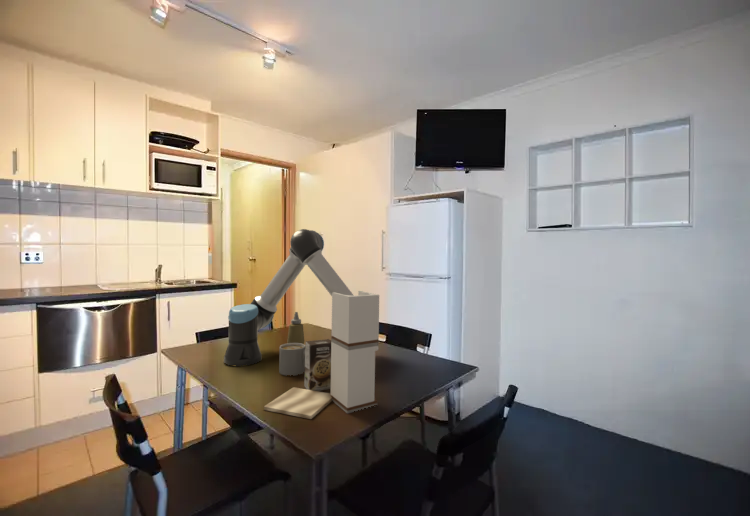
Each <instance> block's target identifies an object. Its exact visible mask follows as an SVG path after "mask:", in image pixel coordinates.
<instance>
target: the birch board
mask: <svg viewBox="0 0 750 516" xmlns="http://www.w3.org/2000/svg"><path fill="white" fill-rule="evenodd" d="M331 402H333V401H332V397H331V392H323V391H313V390H307V389H306V388H301V387H300V388H299V387H292V388H290V389H289V390H287V391H285V392H284V393H282V394H281V395H279V396H278V397H276V398H274V399H273V400H272V401H270V402H268V403H267V404H265V405H264V406H263V410H264V411H268V412H272V413H280V414H283V415H288V416H293V417H297V418H302V419H303V418H304V419H308V420H312V419H313V418H314V417H316V415H318V414H319V413H320V412H321V411H322V410H324V409H325V407H327V406H328V405H329V404H330V403H331Z"/></svg>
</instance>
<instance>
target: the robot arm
mask: <svg viewBox="0 0 750 516" xmlns="http://www.w3.org/2000/svg"><path fill="white" fill-rule="evenodd" d="M324 247H325V241H324V238H323V236H322V235H321V234H320V233H319V232H317V231H316V230H310V229H306V228H302V229H299V230H296V231H295V232H293V234H292V235H291V237H290V247H289V249H288V251H289V255H288V256H287V258H286V259H285V261H284V262H283V263H282V265H281V266H280V268H279V269H278V270H277V272H276V273H275V274H274V276H273V277H272V279H271V280H270V282H269V283H268V285H267V286H266V287H265V289H264V290H263V291H262V292H261V294H260V295H256V296H255V297H254V299H253V300H252V301H251V302H250V303H246V304H244V303H243V304H238V305H235V306H233V307H231V308H230V309H229V311H228V317H227V318H228V344H227V348H226V351H225V354H224V356H223V364H224V363H226V364H228V365H227V366H229V365H236V366H235V367H244V366H243V365H247V366H251V365H250V364H252V365H255V364H257V362H258V363H259V361H260V362H261V361H262V359H263V358H262V353H261V350H260V346H259V342H258V341H259V340H258V337H259V336H258V332H259V330H261V329H264V328H266V327H267V326H269V325H270V324H271V322H272V321H273V319H274V316H275V314H276V313H277V311H278V308H277V305H278V304H279V303H280V301H281V299H282V298H283V297H284V296H285V294H286V293H287V292H288V290H289V288H290V287H291V286H292V285H293V283H294V282H295V280H296V279H297V277H298V276H299V275H300V273H301V272H302V271H303V269H304V267H305V266H307V267H308V268H309V269H310V270H311V272H312V273H313V274H314V275H315V277H316V278H317V280H318V281H319V282H320V283H321V285H322V286H323V287H324V289H325V290H326V291H327V292H328V293H329V295H330V296H331V297H332V293H334V292H335V293H339V294H343V295H351V296H355V295H354V293H353V292H352V291H351V290H350V289H349V287H348V286H347V284H346V283H345V282H344V281H343V280H342V278H341V277H340V276H339V275H338V273H337V272H336V271H335V269H334V268H333V267H332V266H331V264H330V263H329V261H327V258H325V256H324V255H323V254H322V252H323V250H324ZM254 363H255V364H254ZM226 364H225V365H226ZM241 365H242V366H241Z"/></svg>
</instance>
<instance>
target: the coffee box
mask: <svg viewBox="0 0 750 516" xmlns="http://www.w3.org/2000/svg"><path fill="white" fill-rule="evenodd" d="M303 384H304V386H303V387H304V389H307V390H313V391H319V392H321V391H326V390H331V339H329V338H327V339H325V338H324V339H317V340H306V341H305V372H304V382H303Z"/></svg>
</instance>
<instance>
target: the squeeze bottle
mask: <svg viewBox="0 0 750 516" xmlns="http://www.w3.org/2000/svg"><path fill="white" fill-rule="evenodd" d="M299 317H300V316H299V313H298V311H295V312H294V316H293V318H292V319H291V320H290V321H291V322H290V324H289V325H288V333H287V340H286V341H287V343H302V344H304V345H305V331H304V324H303V323H302V319H301V318H299ZM287 343H286V344H287Z"/></svg>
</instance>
